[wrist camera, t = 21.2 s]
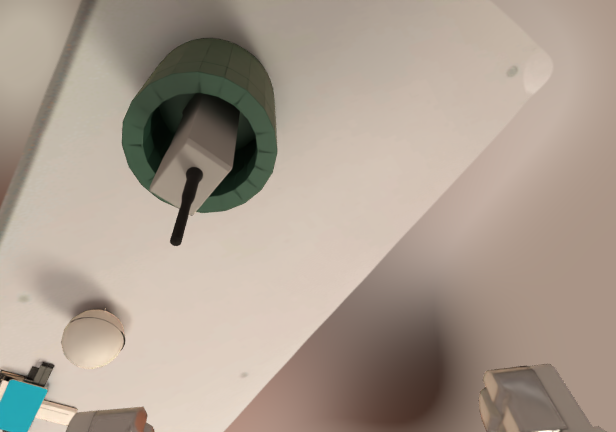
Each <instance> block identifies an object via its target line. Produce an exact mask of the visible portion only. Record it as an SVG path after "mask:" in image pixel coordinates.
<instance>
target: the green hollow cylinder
mask: <svg viewBox="0 0 616 432" xmlns="http://www.w3.org/2000/svg"><path fill="white" fill-rule="evenodd" d="M196 93H203V94H208V95H212V96H217V97H219V98H221V99H223V100H225V101H227V102H229V103H230V104H232V105H234V106H235V107H236V108H237V109H238V110H239V111H240V116H239V123H238V130H237V138H236V145H235V153H234V160H233V168H232V170H231V171H230V172H229V173H228V174H227V175H226V177H225V178H224V179H223V180H222V181H221V183H220V184H219V185H218V186H217V187H216V189H215V190H214V191H213V192H212V193H211V194H210V196H209V197H208V198H207V199H206V200H205V202H204V203H203V204H202V205H201V206H200V208H199V209H198V210H197V211H196V212H200V213H209V212H219V211H226V210H229V209H231V208H234V207H236V206H239V205H242V204H244V203H246V202H247V201H248V200H249V199H251V198H252V197H253V196H254V195H256V194H257V193H258V192H259V191H261V190H262V188H263V187H264V185H265V184H266V182H267V180H268V179H269V177H270V176H271V174H272V172H273V169H274V164H275V160H276V156H277V136H276V116H275V102H274V93H273V87H272V84H271V81H270V79H269V77H268V74H267V72H266V71H265V69H264V68H263V66H262V65H261V64H260V62H259V61H258V60H257V59H256V58H255V57H254V56H253V55H252V54H251V53H249V52H248V51H246V50H245V49H244V48H242V47H240V46H238V45H236V44H234V43H231V42H229V41H225V40H221V39H213V38H203V39H197V40H193V41H189V42H187V43H184V44H182V45H180V46H179V47H177V48H176V49H174V50H173V51H172V52H171V53H169V54H168V55H167V56H166V58H165V59H164V60H163V61H162V62H161V63H160V64H159V65H158V67H157V68H156V69H155V71H154V72H153V73H152V75H151V76H150V77H149V79H148V80H147V82H146V83H145V84H144V86H143V87H142V88H141V90H140V91H139V92H138V94H137V95H136V96H135V98H134V99H133V100H132V102H131V104H130V106H129V109H128V111H127V113H126V115H125V118H124V120H123V128H122V146H123V150H124V153H125V156H126V159H127V163H128V165H129V168H130V169H131V171H132V172H133V173H134V175H135V176H136V178H137V179H138V181H139V182H140V184H141V185H142V186H143V187H145V188H146V189H147V190H148V191H149V192H151V191H150V185H151V183H152V181H153V179H154V176H155V174H156V172H157V170H158V168H159V166H160V164H161V162H162V160H163V158H164V156H165V154H166V152H167V150H168V149H169V147H170V145H171V143H172V140H173V138H174V136H175V133H176V131H177V129H178V126H179V124H180V122H181V119H182V117H183V115H182V112H183V110H184V108H185V107H186V106H187V104H188V103H189V102H190V100H191V99H192V98H193V96H194V95H195V94H196ZM151 193H152V194H153V195H154V196H156V197H157V198H158V199H160V200H161V201H163V202H165V203H168V204H170V205H172V204H171V203H169V202H168V201H166V200H164V199H163V198H161V197H159V196H158V195H156V194H154V193H153V192H151ZM172 206H174V205H172ZM174 207H176V206H174Z"/></svg>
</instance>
